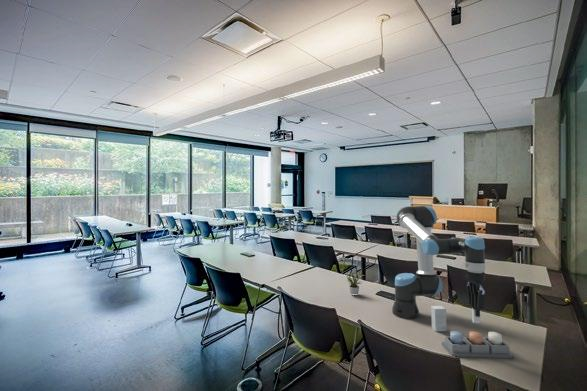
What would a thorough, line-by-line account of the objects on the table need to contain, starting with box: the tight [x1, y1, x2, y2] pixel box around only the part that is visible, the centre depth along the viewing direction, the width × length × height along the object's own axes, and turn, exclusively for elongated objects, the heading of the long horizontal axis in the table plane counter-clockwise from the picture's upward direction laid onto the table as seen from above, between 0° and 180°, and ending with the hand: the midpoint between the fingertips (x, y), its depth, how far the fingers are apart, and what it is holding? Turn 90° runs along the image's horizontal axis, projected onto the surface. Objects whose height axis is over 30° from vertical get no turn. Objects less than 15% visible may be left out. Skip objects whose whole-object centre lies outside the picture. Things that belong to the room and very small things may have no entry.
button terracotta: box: [468, 330, 483, 345], centre depth 131 cm, size 5×5×4 cm
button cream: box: [487, 331, 503, 345], centre depth 130 cm, size 5×5×4 cm
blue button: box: [449, 330, 464, 344], centre depth 132 cm, size 5×5×4 cm
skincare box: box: [430, 305, 447, 333], centre depth 151 cm, size 6×4×12 cm
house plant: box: [346, 272, 364, 295], centre depth 205 cm, size 14×14×16 cm
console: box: [441, 336, 514, 359], centre depth 131 cm, size 10×26×4 cm, turn 86°
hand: (476, 322), depth 130 cm, fingers closed
